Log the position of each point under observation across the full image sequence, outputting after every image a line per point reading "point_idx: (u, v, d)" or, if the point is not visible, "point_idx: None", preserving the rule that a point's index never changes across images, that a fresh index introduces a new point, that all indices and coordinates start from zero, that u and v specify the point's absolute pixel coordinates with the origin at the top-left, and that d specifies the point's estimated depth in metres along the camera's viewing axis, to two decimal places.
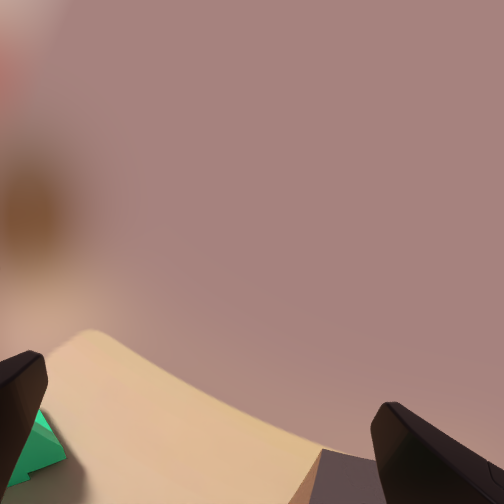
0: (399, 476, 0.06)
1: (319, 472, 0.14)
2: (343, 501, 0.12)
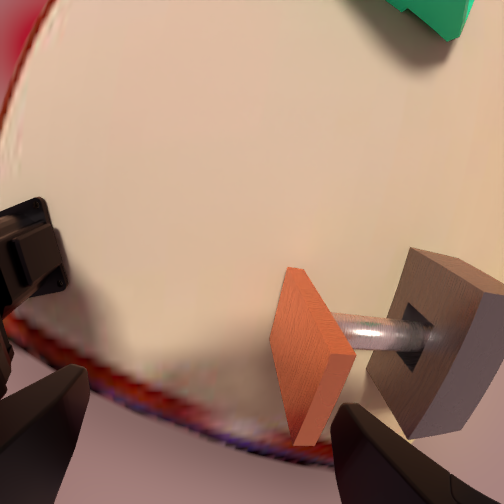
0: (355, 483, 0.06)
1: None
2: (486, 324, 0.13)
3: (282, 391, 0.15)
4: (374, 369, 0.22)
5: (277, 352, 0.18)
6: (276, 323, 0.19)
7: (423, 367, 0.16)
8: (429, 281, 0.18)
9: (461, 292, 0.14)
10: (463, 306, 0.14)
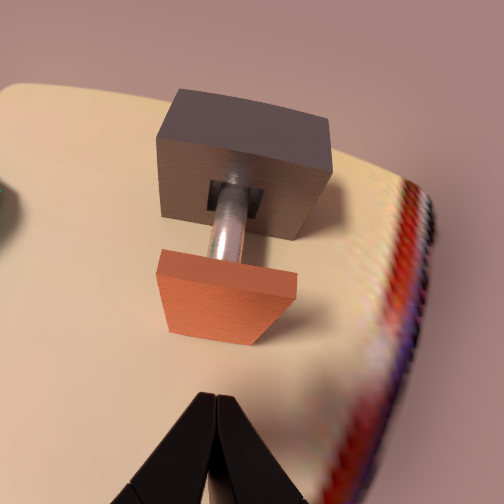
0: (213, 484, 0.05)
1: (173, 105, 0.18)
2: (192, 126, 0.17)
3: (268, 323, 0.15)
4: (288, 231, 0.23)
5: (246, 334, 0.17)
6: (225, 339, 0.18)
7: (252, 179, 0.19)
8: (177, 192, 0.21)
9: (168, 159, 0.18)
10: (177, 154, 0.17)
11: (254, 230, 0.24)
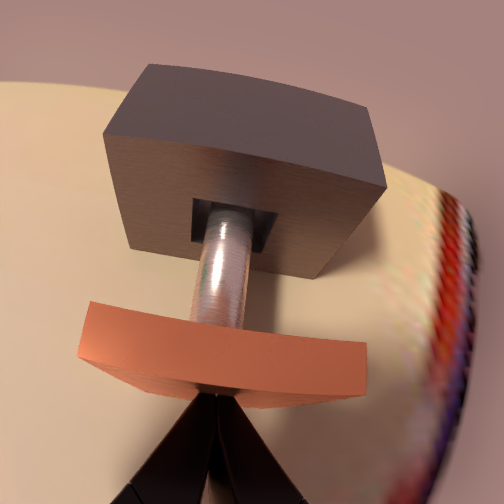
0: (213, 484, 0.05)
1: (137, 85, 0.11)
2: (162, 113, 0.10)
3: (296, 404, 0.08)
4: (308, 268, 0.16)
5: None
6: None
7: (259, 197, 0.12)
8: (146, 217, 0.14)
9: (126, 168, 0.11)
10: (139, 159, 0.11)
11: (259, 266, 0.17)
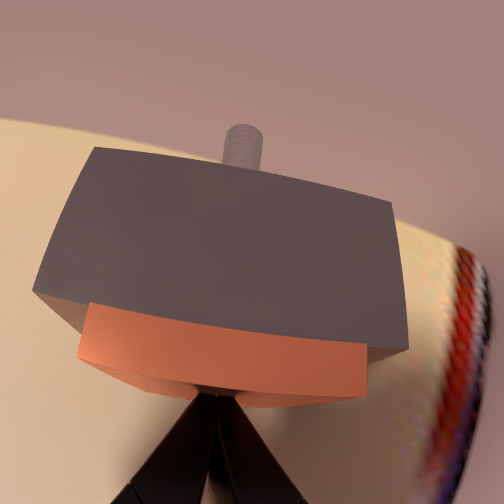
0: (213, 484, 0.05)
1: (75, 193, 0.08)
2: (105, 254, 0.08)
3: (295, 404, 0.08)
4: None
5: (256, 405, 0.11)
6: None
7: None
8: None
9: (73, 316, 0.08)
10: (85, 314, 0.08)
11: None
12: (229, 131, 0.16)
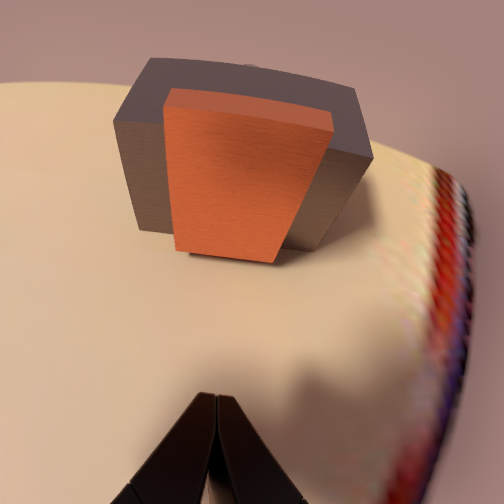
0: (213, 484, 0.05)
1: (141, 77, 0.12)
2: None
3: (297, 200, 0.12)
4: (307, 240, 0.17)
5: (269, 235, 0.14)
6: (243, 252, 0.16)
7: None
8: (154, 197, 0.15)
9: (134, 151, 0.12)
10: (146, 142, 0.12)
11: None
12: None
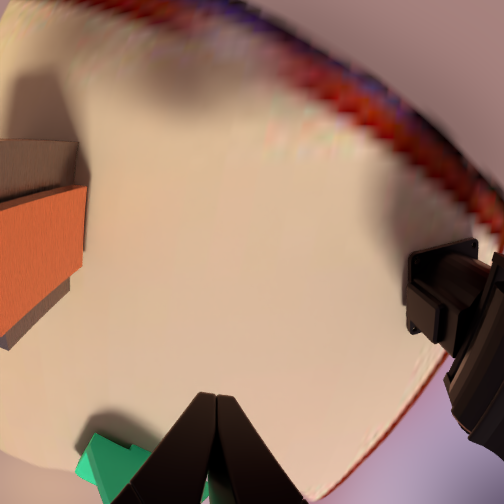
0: (213, 484, 0.05)
1: None
2: None
3: (38, 203, 0.12)
4: (68, 153, 0.16)
5: (65, 205, 0.15)
6: (79, 215, 0.17)
7: None
8: None
9: (21, 324, 0.13)
10: None
11: None
12: None
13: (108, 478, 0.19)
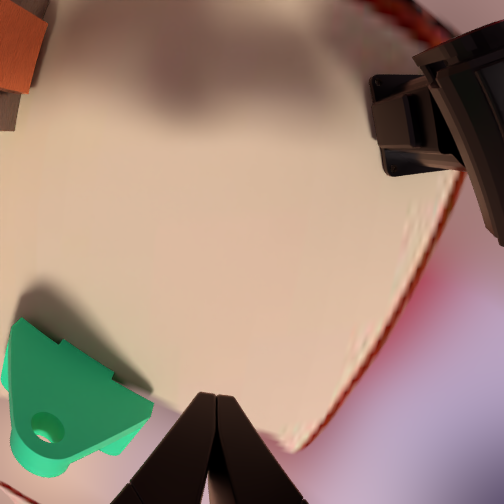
0: (213, 484, 0.05)
1: None
2: None
3: None
4: (39, 3, 0.13)
5: (24, 21, 0.11)
6: (35, 42, 0.13)
7: None
8: None
9: None
10: None
11: None
12: None
13: (20, 366, 0.16)
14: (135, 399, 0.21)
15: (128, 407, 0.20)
